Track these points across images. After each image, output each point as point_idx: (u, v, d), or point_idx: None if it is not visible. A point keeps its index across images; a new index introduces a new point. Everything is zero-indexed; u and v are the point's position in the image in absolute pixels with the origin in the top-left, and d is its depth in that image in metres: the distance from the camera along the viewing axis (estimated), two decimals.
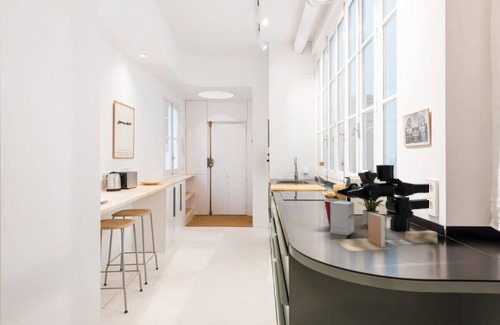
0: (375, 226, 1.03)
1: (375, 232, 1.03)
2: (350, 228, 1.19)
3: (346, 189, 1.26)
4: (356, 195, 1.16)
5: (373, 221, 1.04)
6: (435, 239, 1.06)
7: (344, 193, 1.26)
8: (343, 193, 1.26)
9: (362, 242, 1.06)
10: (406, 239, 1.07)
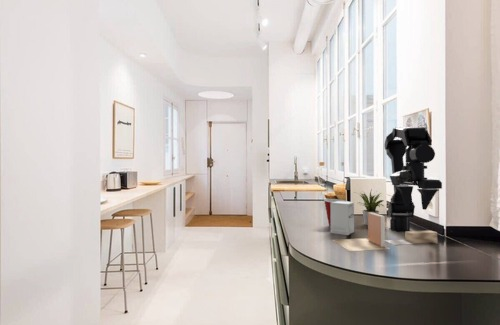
0: (375, 226, 1.03)
1: (375, 232, 1.03)
2: (350, 228, 1.19)
3: (404, 193, 1.11)
4: (429, 200, 1.01)
5: (373, 221, 1.04)
6: (435, 239, 1.06)
7: (408, 196, 1.11)
8: (409, 198, 1.11)
9: (362, 242, 1.06)
10: (406, 239, 1.07)
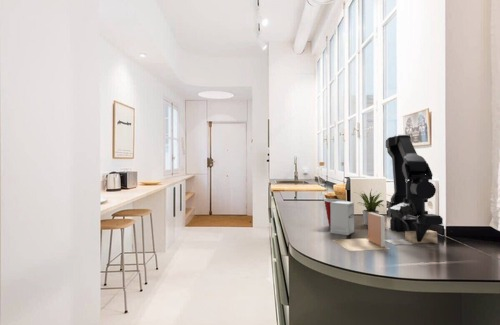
0: (375, 226, 1.03)
1: (375, 232, 1.03)
2: (350, 228, 1.19)
3: (410, 227, 1.08)
4: (423, 233, 1.04)
5: (373, 221, 1.04)
6: (435, 239, 1.06)
7: (414, 230, 1.08)
8: None
9: (362, 242, 1.06)
10: (406, 239, 1.07)
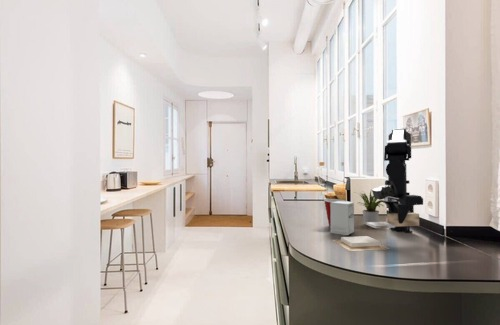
0: None
1: None
2: (350, 228, 1.19)
3: (392, 209, 1.07)
4: (405, 215, 1.03)
5: None
6: (417, 221, 1.05)
7: (396, 212, 1.07)
8: None
9: None
10: (388, 221, 1.06)
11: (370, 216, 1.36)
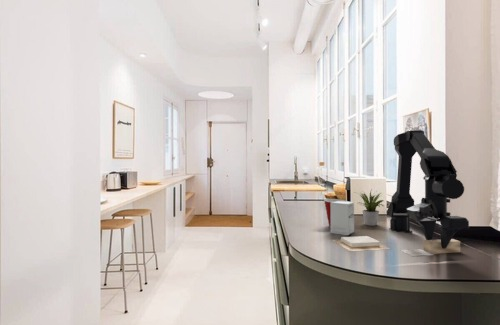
0: None
1: None
2: (350, 228, 1.19)
3: (426, 229, 0.97)
4: (449, 239, 0.90)
5: None
6: (458, 249, 0.94)
7: (431, 232, 0.97)
8: (431, 234, 0.97)
9: None
10: (425, 249, 0.95)
11: (370, 216, 1.36)
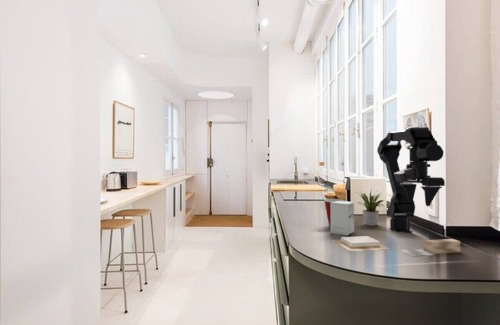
0: None
1: None
2: (350, 228, 1.19)
3: (408, 191, 1.15)
4: (432, 197, 1.05)
5: None
6: (458, 249, 0.94)
7: (412, 194, 1.15)
8: (412, 195, 1.15)
9: None
10: (425, 249, 0.95)
11: (370, 216, 1.36)
